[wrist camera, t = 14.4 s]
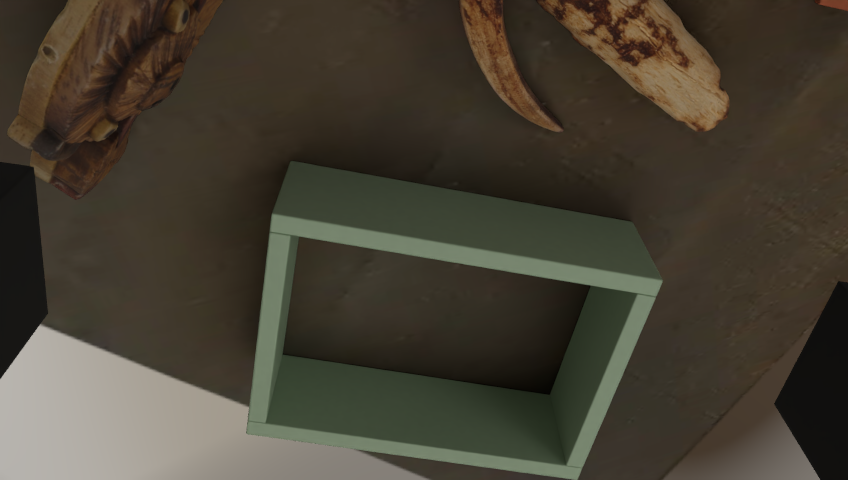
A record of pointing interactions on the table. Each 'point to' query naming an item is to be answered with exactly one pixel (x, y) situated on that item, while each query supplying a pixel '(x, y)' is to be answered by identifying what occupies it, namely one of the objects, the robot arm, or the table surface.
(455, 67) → the table surface
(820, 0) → the mat
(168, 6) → the wooden carving
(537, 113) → the lashed bone hook
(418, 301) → the table surface
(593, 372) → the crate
